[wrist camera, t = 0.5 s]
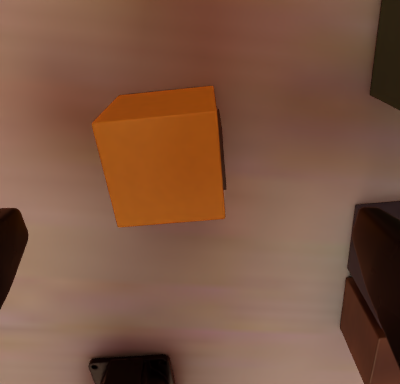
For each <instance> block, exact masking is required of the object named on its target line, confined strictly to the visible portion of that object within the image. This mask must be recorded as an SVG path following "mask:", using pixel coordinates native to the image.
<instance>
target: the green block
mask: <svg viewBox="0 0 400 384" xmlns="http://www.w3.org/2000/svg"><path fill="white" fill-rule="evenodd" d="M370 95H371V96H373V97H375V98H377V99H379V100H381V101H383V102H385V103H387V104H389V105H391V106H393V107H395V108H396V109H398V110H400V0H382V4H381V12H380V20H379V27H378V35H377V43H376V51H375V58H374V66H373V74H372V82H371V90H370Z"/></svg>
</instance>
